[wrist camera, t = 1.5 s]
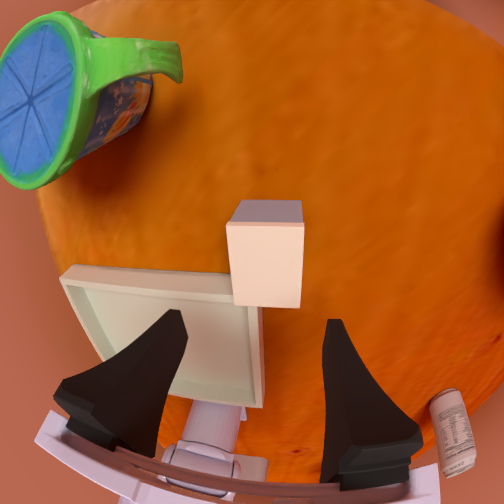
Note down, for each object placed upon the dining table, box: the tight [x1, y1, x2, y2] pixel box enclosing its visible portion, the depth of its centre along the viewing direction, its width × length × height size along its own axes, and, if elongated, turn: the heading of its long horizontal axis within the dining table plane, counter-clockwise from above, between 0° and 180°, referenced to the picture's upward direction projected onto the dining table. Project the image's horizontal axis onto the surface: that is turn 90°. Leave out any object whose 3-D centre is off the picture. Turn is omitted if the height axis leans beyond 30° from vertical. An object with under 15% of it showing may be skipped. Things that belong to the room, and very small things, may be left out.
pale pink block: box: [226, 200, 304, 308], centre depth 19 cm, size 6×5×5 cm
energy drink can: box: [429, 388, 477, 478], centre depth 24 cm, size 6×6×15 cm
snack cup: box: [0, 11, 183, 190], centre depth 13 cm, size 16×10×10 cm
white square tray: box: [59, 264, 265, 408], centre depth 28 cm, size 19×22×3 cm
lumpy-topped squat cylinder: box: [234, 454, 268, 482], centre depth 49 cm, size 10×13×9 cm
